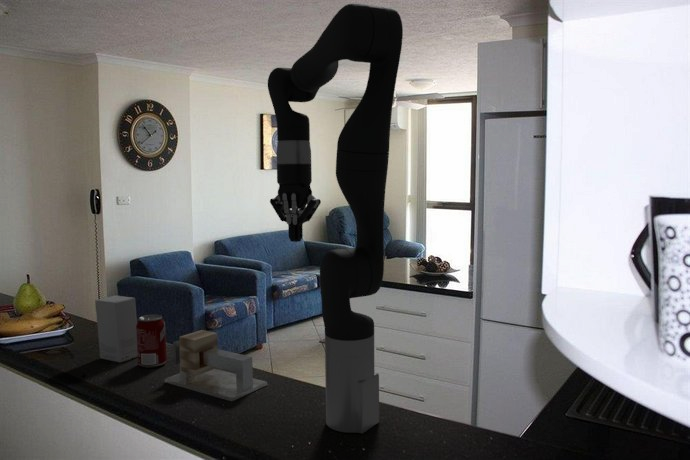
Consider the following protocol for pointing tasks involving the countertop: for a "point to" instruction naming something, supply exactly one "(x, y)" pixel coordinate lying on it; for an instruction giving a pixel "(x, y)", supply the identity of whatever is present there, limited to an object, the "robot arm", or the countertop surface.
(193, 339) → the tan notched block
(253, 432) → the countertop surface
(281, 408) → the countertop surface
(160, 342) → the soda can
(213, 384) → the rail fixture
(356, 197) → the robot arm
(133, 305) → the skincare box
